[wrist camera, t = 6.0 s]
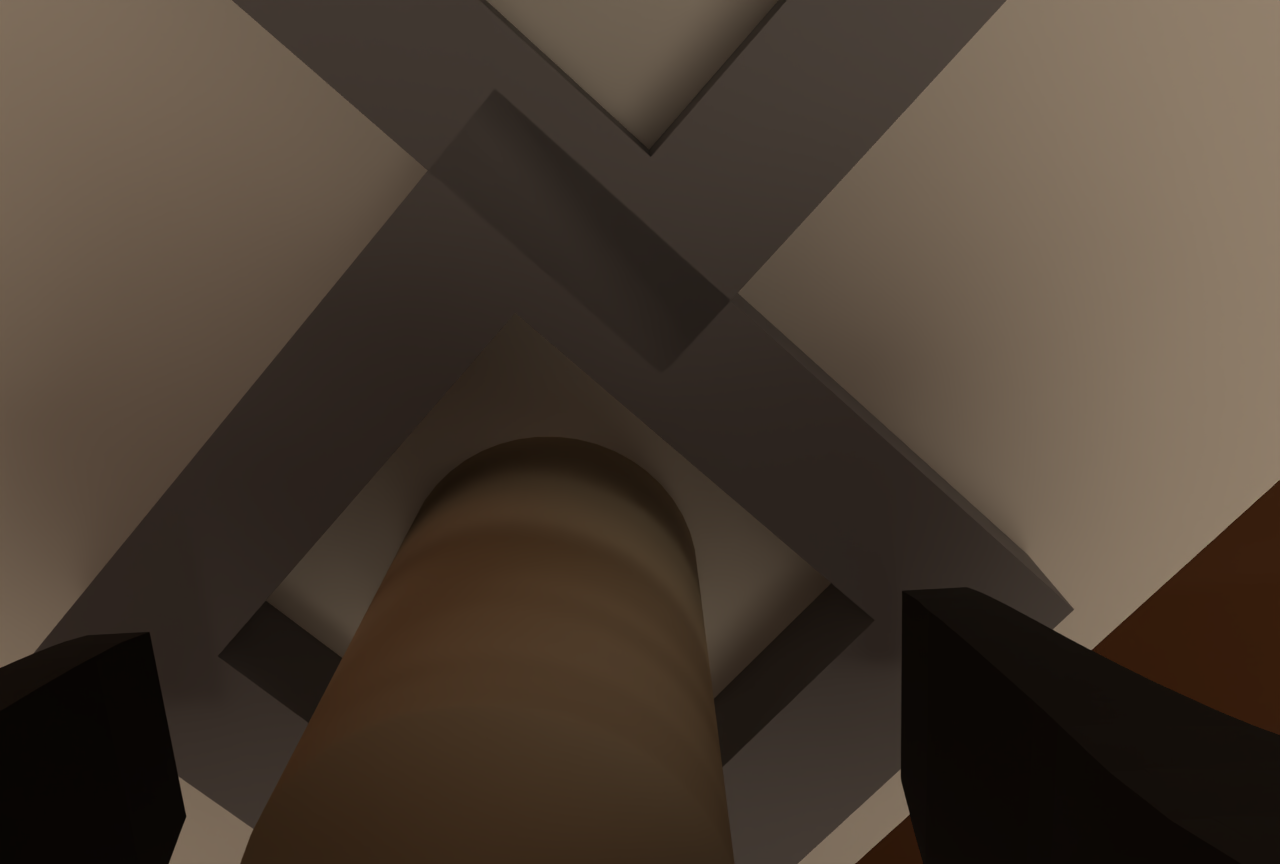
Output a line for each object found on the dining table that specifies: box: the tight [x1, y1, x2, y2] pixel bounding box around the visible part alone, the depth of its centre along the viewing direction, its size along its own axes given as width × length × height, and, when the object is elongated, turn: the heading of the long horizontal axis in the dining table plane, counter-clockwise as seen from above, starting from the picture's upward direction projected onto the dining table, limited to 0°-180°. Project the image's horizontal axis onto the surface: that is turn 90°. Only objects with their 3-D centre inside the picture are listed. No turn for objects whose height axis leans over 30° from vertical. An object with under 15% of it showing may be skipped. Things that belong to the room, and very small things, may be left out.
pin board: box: [0, 0, 1280, 864], centre depth 10 cm, size 22×15×7 cm
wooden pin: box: [241, 437, 735, 864], centre depth 11 cm, size 4×4×6 cm
